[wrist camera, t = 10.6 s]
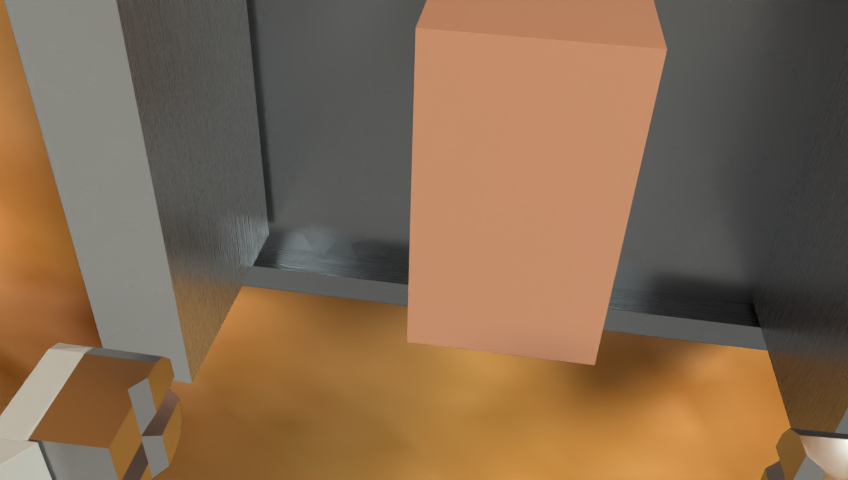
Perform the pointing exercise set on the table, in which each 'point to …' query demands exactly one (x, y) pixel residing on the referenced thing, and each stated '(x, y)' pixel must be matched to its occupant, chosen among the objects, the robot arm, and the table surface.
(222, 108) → the sliding jaw
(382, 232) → the vise base
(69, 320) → the table surface
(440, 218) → the rust block
